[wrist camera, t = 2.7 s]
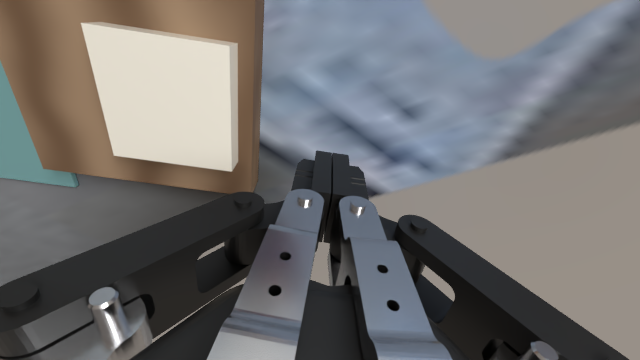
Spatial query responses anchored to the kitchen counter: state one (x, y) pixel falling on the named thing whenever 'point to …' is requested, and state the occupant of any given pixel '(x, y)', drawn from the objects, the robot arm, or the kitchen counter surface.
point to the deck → (82, 95)
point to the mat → (22, 145)
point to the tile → (166, 94)
